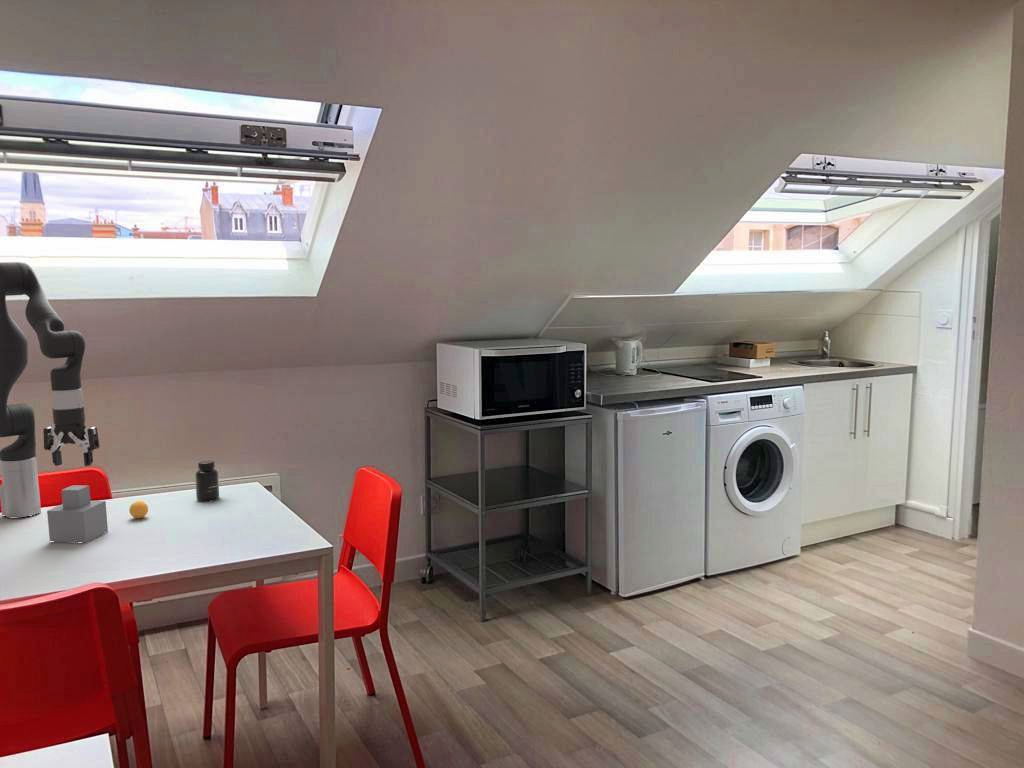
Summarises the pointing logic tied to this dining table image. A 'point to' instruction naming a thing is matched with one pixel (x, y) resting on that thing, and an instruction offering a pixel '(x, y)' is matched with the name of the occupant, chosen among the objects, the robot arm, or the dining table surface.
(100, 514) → the stepped grey block
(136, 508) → the ball
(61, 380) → the robot arm
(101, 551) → the dining table surface
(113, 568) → the dining table surface
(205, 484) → the supplement bottle
